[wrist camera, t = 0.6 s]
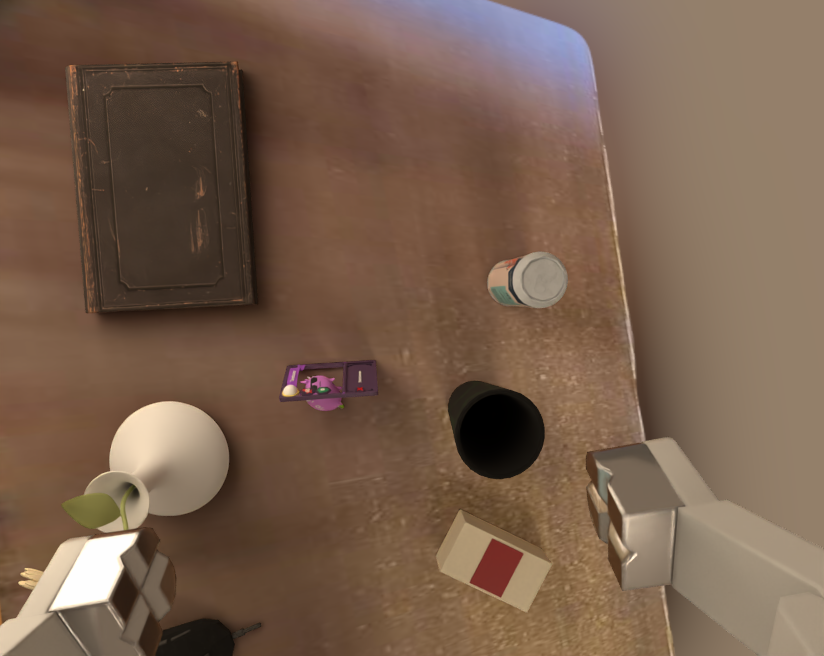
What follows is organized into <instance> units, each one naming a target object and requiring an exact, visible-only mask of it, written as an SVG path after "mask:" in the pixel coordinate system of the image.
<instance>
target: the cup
mask: <svg viewBox="0 0 824 656" xmlns="http://www.w3.org/2000/svg"><path fill="white" fill-rule="evenodd" d="M448 412H449V416H450V421H451V425H452V429H453V434H454V438H455V442H456V446H457V450H458V453H459V455H460V456H461V458H462V460H463V462H464V463H465V464H466V465H467V466H468V467H469V468H470V469H471V470H473V471H474V472H476V473H477V474H479V475H481V476H484V477H487V478H492V479H505V478H511V477H513V476H516V475H518V474H521V473H522V472H524V471H525V470H526V469H528V468H529V467H530V466H531V465H532V464H533V463H534V461H535V460H536V459H537V458H538V456H539V454H540V452H541V450H542V447H543V443H544V438H545V427H544V423H543V419H542V416H541V414H540V412H539V410H538V409H537V407H536V406H535V405H534V404H533V403H532V401H531V400H530V399H528V398H527V397H525V396H524V395H522V394H521V393H518V392H515V391H512V390H509V389H505V388H502V387H498V386H495V385H491V384H488V383H484V382H480V381H470V382H466V383H464V384H462V385H460V386H459V387H457V388H456V389H455V391H454V392H453V393H452V395H451V397H450V399H449V404H448Z"/></svg>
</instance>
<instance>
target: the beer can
mask: <svg viewBox="0 0 824 656" xmlns="http://www.w3.org/2000/svg"><path fill="white" fill-rule="evenodd" d="M567 283H568V276H567V271H566V269H565V266H564V265H563V263H562V262H561V261H560V260H559V259H558V258H557V257H556V256H554V255H552V254H550V253H546V252H534V253H531V254H529V255H525V256H522V257H518V258H514V259H510V260H504V261H502V262H499V263H498V264H496V265H495V266H494V267H493V268H492V270H491V271H490V273H489V276H488V280H487V286H488V291H489V293H490V295H491V296H492V298H493V299H494V300H495V301H496V302H498V303H500V304H502V305H506V306H514V307H529V308H546V307H549V306H551V305H553V304H555V303H556V302H558V301H559V300H560V299H561V297H562V296H563V295H564V293H565V291H566V288H567Z"/></svg>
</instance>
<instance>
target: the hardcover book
mask: <svg viewBox="0 0 824 656" xmlns="http://www.w3.org/2000/svg"><path fill="white" fill-rule="evenodd" d="M65 70H66V82H67V94H68V106H69V118H70V130H71V142H72V154H73V166H74V178H75V190H76V202H77V214H78V226H79V238H80V250H81V262H82V274H83V286H84V298H85V310H86V313H96V312H116V311H135V310H155V309H174V308H194V307H213V306H233V305H252V304H258V298H257V283H256V268H255V252H254V237H253V222H252V207H251V192H250V177H249V162H248V147H247V132H246V117H245V102H244V86H243V71H242V70H239V68H238V62H201V63H155V64H108V65H69V66H67V67H66V68H65Z"/></svg>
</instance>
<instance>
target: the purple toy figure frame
mask: <svg viewBox="0 0 824 656" xmlns="http://www.w3.org/2000/svg"><path fill="white" fill-rule="evenodd" d="M334 367H343V389H342V387H336V386H335V385H334V384H333V383H332V381H334V380H335V378H330V379H329V378H327V377H325V376H312V378H310V377H308V378H309V380H307V379H305V381H301V382H300V383H304V384H306V387H305V388H304V389H302V390H301V391H300V392H299V390H298V389H297V378H298V373H299V371H302V370H303V369H319V368H334ZM340 389H342V393H340V391H339V390H340ZM298 393H300V394H299V395H300V396H295V395H297V394H298ZM375 395H378V385H377V371H376V361H375V360H367V361H351V362H335V363H320V364H304V365H289V366H287V368H286V372H285V376H284V380H283V384H282V388H281V392H280V396H279V399H280V402H286V401H301V400H306V401H307V402H308V404H309V405H310V406H312V407H313V408H315V409H317V410H321V411H330V410H333V409H335V408H337V407H338V408H339V407H340V408H344V405H343V403H342V402H341V399H342V398H346V397H360V396H375Z"/></svg>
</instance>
